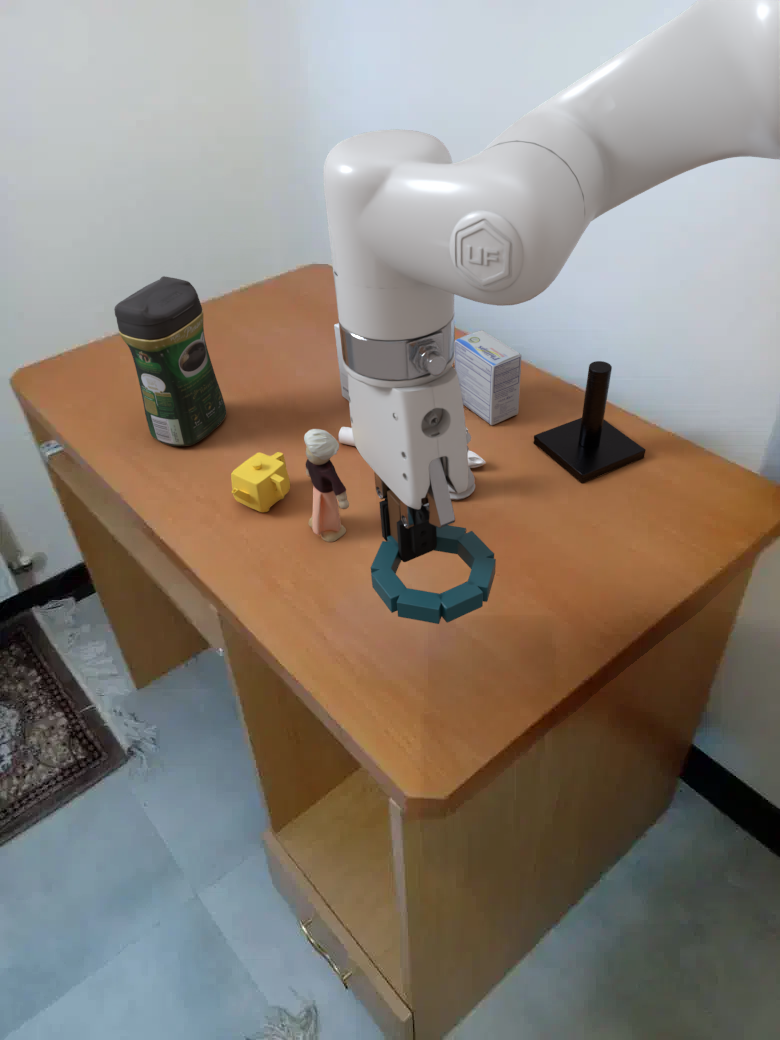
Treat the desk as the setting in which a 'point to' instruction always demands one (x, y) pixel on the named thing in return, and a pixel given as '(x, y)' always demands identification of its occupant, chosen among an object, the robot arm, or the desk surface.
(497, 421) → the medicine box
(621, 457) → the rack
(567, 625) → the desk surface
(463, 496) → the rook chess piece
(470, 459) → the marker
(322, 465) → the grandmother figurine
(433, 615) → the teal segmented ring
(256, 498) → the teapot
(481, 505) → the desk surface
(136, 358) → the coffee jar
